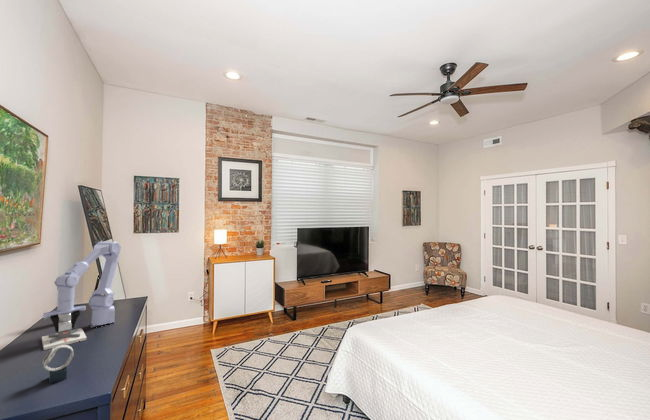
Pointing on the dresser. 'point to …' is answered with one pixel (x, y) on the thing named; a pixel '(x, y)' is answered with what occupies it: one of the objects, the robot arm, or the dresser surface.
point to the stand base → (63, 338)
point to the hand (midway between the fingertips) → (64, 329)
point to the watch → (59, 371)
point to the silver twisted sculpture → (65, 316)
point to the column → (65, 326)
